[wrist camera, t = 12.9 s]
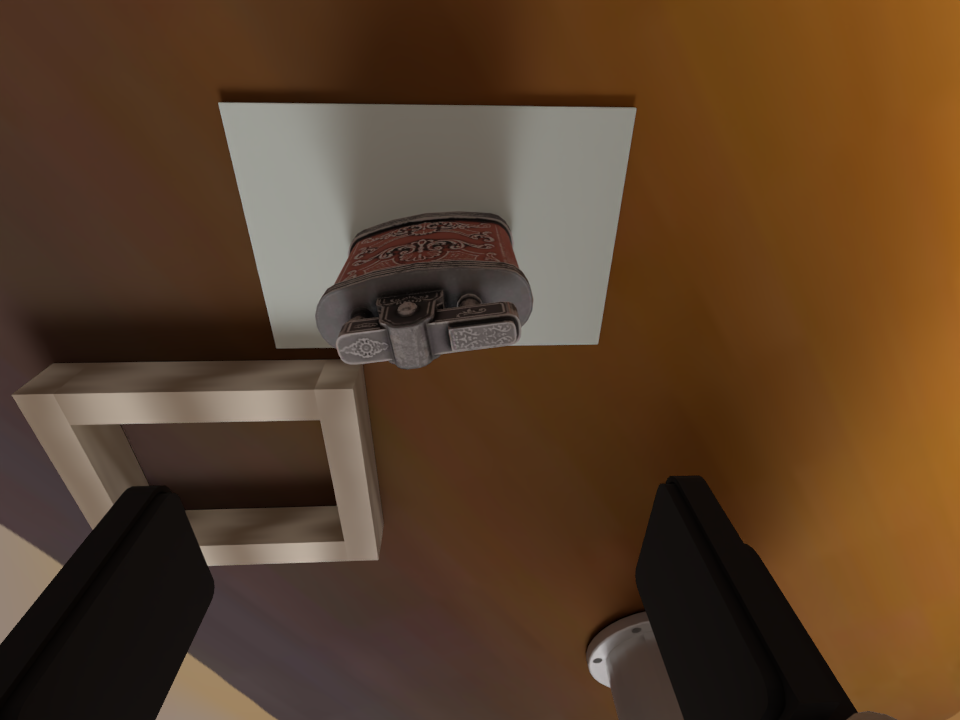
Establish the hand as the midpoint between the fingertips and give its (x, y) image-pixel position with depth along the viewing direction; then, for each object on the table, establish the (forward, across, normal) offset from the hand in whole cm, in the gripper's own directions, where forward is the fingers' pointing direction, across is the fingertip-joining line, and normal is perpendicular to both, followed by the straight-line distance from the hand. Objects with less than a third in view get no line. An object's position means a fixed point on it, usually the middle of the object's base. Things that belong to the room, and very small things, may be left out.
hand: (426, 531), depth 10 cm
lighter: (+17, +1, -1) cm, 17 cm away
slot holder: (+18, +13, +13) cm, 26 cm away
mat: (+18, 0, -1) cm, 18 cm away
